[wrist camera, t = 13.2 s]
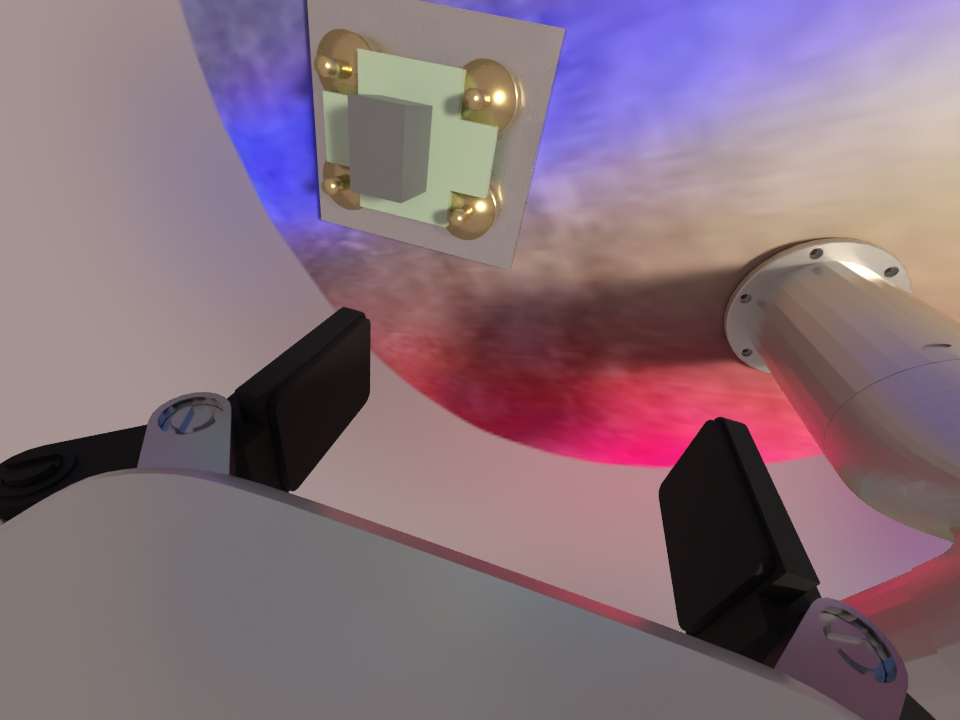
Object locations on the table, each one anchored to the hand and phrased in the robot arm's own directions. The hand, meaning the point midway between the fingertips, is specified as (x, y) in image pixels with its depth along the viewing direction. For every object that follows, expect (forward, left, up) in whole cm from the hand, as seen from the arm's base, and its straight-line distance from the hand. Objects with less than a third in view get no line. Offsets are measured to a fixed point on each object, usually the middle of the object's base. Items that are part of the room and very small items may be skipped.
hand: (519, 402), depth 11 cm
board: (+14, -2, -25) cm, 28 cm away
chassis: (+14, -2, -28) cm, 32 cm away
